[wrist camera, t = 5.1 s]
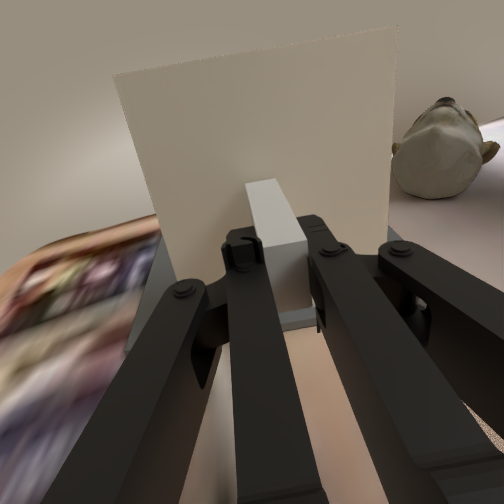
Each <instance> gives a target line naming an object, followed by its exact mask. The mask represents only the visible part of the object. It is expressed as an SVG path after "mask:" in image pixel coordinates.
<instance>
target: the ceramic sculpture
mask: <svg viewBox="0 0 504 504" xmlns="http://www.w3.org/2000/svg"><path fill="white" fill-rule="evenodd" d="M499 148H500V145H499V144H497V142H493V141H487V142H483V138H482V135H481V132H480V131H479V128H478V124H477V120H476V119H475V117H474V116H473V115H472V114H470V112H469V111H466V110H464V109H463V108H462V107H461V106H460V105H458V104H456V102H455V100H454V99H452V98H450V97H444V98H441V99H439V100H438V101H437V102H436V103H435V104H434V105H432V106H431V107H430V108H428V109H427V110H426V111H425V112H424V113H423V114H422V115H421V116H420V117H419V118H418V119H417V120H416V121H415V122H414V124H413V126H412V127H411V128H410V129H409V130H408V131H407V132H406V134H405V135H404V137H403V140H402V142H401V143H394V144H393V145H392V153H393V158H392V169H393V174H394V176H395V179H396V181H397V183H398V185H399V186H400V188H401V189H402V190H403V191H404V192H406V193H408V194H410V195H415V196H418V197H421V198H425V199H438V198H444V197H452V196H455V195H457V194H459V193H461V192H462V191H464V190H465V189H466V188H467V187H468V186H469V185H470V183H471V182H472V181H473V180H474V178H475V177H476V176H477V174H478V172H479V170H480V168H481V165H483V164H485V163H487V162H489V161H490V160H491V159H492V158H493V157H494V156H495V155H496V154H497V152H498V150H499Z"/></svg>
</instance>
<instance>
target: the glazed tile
mask: <svg viewBox="0 0 504 504" xmlns="http://www.w3.org/2000/svg"><path fill="white" fill-rule="evenodd" d="M397 36H398V25H396V26H390V27H385V28H379V29H373V30H367V31H362V32H357V33H350V34H344V35H339V36H333V37H327V38H322V39H316V40H310V41H305V42H299V43H293V44H287V45H281V46H276V47H270V48H264V49H258V50H253V51H247V52H241V53H235V54H230V55H224V56H218V57H213V58H207V59H201V60H196V61H190V62H184V63H178V64H172V65H167V66H161V67H156V68H150V69H144V70H138V71H133V72H127V73H121V74H115V75H112V76H113V79H114V82H115V85H116V89H117V92H118V95H119V98H120V101H121V105H122V108H123V111H124V114H125V117H126V120H127V123H128V127H129V130H130V133H131V136H132V139H133V143H134V146H135V149H136V152H137V155H138V158H139V161H140V165H141V168H142V171H143V174H144V177H145V180H146V184H147V187H148V190H149V193H150V196H151V200H152V203H153V206H154V209H155V212H156V215H157V219H158V222H159V225H160V228H161V231H162V234H163V238H164V241H165V244H166V247H167V250H168V253H169V257H170V260H171V263H172V266H173V269H174V272H175V276H176V279H177V281H180V280H183V279H189V278H194V279H199V280H201V281H203V282H204V284H205V285H209V284H211V283H213V282H216V281H218V280H219V279H221V278H222V277H223V276H224V275H225V274H226V270H225V265H224V261H223V256H222V252H221V247H222V244H223V243H225V242H226V236H227V234H228V233H229V231H230V230H233V229H238V228H244V227H249V226H252V222H251V216H250V210H249V204H248V198H247V192H246V186H245V184H246V183H251V182H257V181H263V180H268V179H274V178H276V180H277V182H278V184H279V186H280V188H281V190H282V192H283V194H284V196H285V198H286V199H287V201H288V203H289V205H290V207H291V209H292V211H293V213H294V215H295V217H300V216H306V215H312V214H314V215H316V216H318V217H321V218H322V219H323V221H324V222H325V223H326V225H327V226H328V228H329V230H330V231H331V232H332V234H333V235H334V237H335V238H336V240H337V241H338V242H342V243H345V244H347V245H349V246H350V247H351V248H352V250H353V251H354V252H355V254H363V255H378V248H379V247H380V246H381V245H382V244H384V243H386V242H387V231H388V212H389V192H390V173H391V154H392V133H393V115H394V114H393V113H394V95H395V94H394V93H395V76H396V57H397V55H396V54H397ZM312 305H313V307H315V302H314V300H313V298H312Z"/></svg>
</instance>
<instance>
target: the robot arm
mask: <svg viewBox="0 0 504 504" xmlns="http://www.w3.org/2000/svg"><path fill="white" fill-rule="evenodd" d="M245 186H246V192H247V198H248V204H249V210H250V216H251V222H252V226H249V227H244V228H238V229H233V230H230V231H229V233H228V234H227V236H226V242H225V243H223V244H222V247H221V252H222V256H223V261H224V265H225V270H226V274H225V275H224V276H223V277H222V278H221V279H219V280H218V281H216V282H213V283H211V284H209V285H205V284H204V282H203V281H201V280H199V279H194V278H189V279H183V280H180V281H177V282H175V283H174V284H172V285H171V286H169V287H168V288H167V289H166V291H165V292H164V294H163V295H162V297H161V299H160V300H159V302H158V304H157V305H156V307H155V309H154V311H153V312H152V314H151V316H150V317H149V319H148V321H147V323H146V324H145V326H144V328H143V329H142V331H141V333H140V334H139V336H138V338H137V340H136V341H135V343H134V345H133V346H132V348H131V350H130V352H129V353H128V355H127V357H126V358H125V360H124V362H123V363H122V365H121V367H120V369H119V370H118V372H117V374H116V375H115V377H114V379H113V381H112V382H111V384H110V386H109V387H108V389H107V391H106V392H105V394H104V396H103V398H102V399H101V401H100V403H99V404H98V406H97V408H96V410H95V411H94V413H93V415H92V416H91V418H90V420H89V421H88V423H87V425H86V427H85V428H84V430H83V432H82V433H81V435H80V437H79V439H78V440H77V442H76V444H75V445H74V447H73V449H72V451H71V452H70V454H69V456H68V457H67V459H66V461H65V462H64V464H63V466H62V468H61V469H60V471H59V473H58V474H57V476H56V478H55V480H54V481H53V483H52V485H51V486H50V488H49V490H48V491H47V493H46V495H45V497H44V498H43V500H42V502H41V503H40V504H178V503H179V500H180V496H181V493H182V489H183V486H184V482H185V479H186V475H187V472H188V468H189V465H190V461H191V458H192V454H193V451H194V447H195V444H196V440H197V437H198V433H199V429H200V426H201V422H202V419H203V415H204V412H205V408H206V405H207V401H208V398H209V394H210V391H211V387H212V384H213V380H214V377H215V373H216V370H217V366H218V363H219V359H220V356H221V352H222V345H223V344H226V343H228V342H230V361H231V380H232V398H233V417H234V436H235V454H236V473H237V495H238V499H237V504H329V501H328V498H327V495H326V492H325V490H324V489H323V487H322V484H321V481H320V477H319V474H318V470H317V466H316V462H315V458H314V454H313V450H312V446H311V442H310V438H309V434H308V430H307V426H306V422H305V418H304V414H303V410H302V406H301V402H300V398H299V394H298V390H297V386H296V383H295V379H294V375H293V371H292V367H291V363H290V359H289V355H288V351H287V347H286V343H285V339H284V335H283V331H282V327H281V323H280V319H279V315H278V313H282V312H288V311H294V310H299V309H305V308H310V307H313V305H312V298H313V300H314V302H315V309H316V322H317V333H320V328H321V330H322V333H323V335H324V338H325V340H326V343H327V345H328V348H329V351H330V353H331V356H332V358H333V361H334V363H335V366H336V369H337V371H338V374H339V376H340V379H341V381H342V384H343V386H344V389H345V392H346V394H347V397H348V399H349V402H350V404H351V407H352V410H353V412H354V415H355V417H356V420H357V422H358V425H359V428H360V430H361V433H362V435H363V438H364V440H365V443H366V445H367V448H368V451H369V453H370V456H371V458H372V461H373V463H374V466H375V469H376V471H377V474H378V476H379V479H380V481H381V484H382V486H383V489H384V492H385V494H386V497H387V499H388V502H389V504H504V453H502V452H501V451H499V450H498V449H497V448H496V447H495V446H494V444H493V443H492V442H491V441H490V439H489V438H488V437H487V435H486V434H485V432H484V431H483V430H482V428H481V427H480V426H479V424H478V423H477V421H476V420H475V419H474V417H473V416H472V414H471V413H470V412H469V410H468V409H467V407H466V406H465V405H464V403H465V404H466V405H467V406H468V407H470V408H471V409H472V410H473V411H474V412H475V413H476V414H477V415H478V416H479V417H480V418H481V419H482V420H483V421H484V422H485V423H486V424H487V425H489V426H490V427H491V428H492V429H493V430H494V431H495V432H496V433H497V434H498V435H499V436H500V437H501V438H502V439H503V440H504V293H503V292H502V291H500V290H498V289H496V288H495V287H493V286H491V285H489V284H487V283H486V282H484V281H482V280H480V279H479V278H477V277H475V276H473V275H471V274H470V273H468V272H466V271H464V270H463V269H461V268H459V267H457V266H455V265H454V264H452V263H450V262H448V261H447V260H445V259H443V258H441V257H439V256H438V255H436V254H434V253H432V252H431V251H429V250H427V249H425V248H423V247H422V246H420V245H418V244H415V243H413V242H409V241H404V240H394V241H389V242H386V243H384V244H382V245H381V246H380V247H379V248H378V255H363V254H355V252H354V251H353V250H352V248H351V247H350V246H349V245H347V244H345V243H342V242H338V241H337V240H336V238H335V237H334V235H333V234H332V232H331V231H330V230H329V228H328V226H327V225H326V223H325V222H324V221H323V219H322V218H321V217H318V216H316V215H314V214H312V215H306V216H300V217H295V215H294V213H293V211H292V209H291V207H290V205H289V203H288V201H287V199H286V198H285V196H284V194H283V192H282V190H281V188H280V186H279V184H278V182H277V180H276V178H274V179H268V180H263V181H257V182H251V183H246V184H245ZM419 298H420V299H421V300H423V301H424V302H425V303H426V304H427V306H426V308H425V307H423V306H422V305H420V304H419ZM461 400H462V401H463V402H464V403H463V402H462V401H461Z"/></svg>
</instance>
